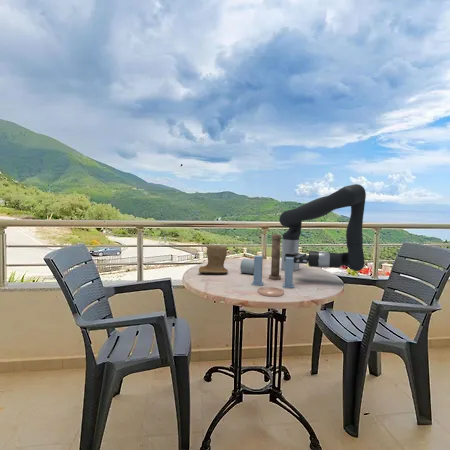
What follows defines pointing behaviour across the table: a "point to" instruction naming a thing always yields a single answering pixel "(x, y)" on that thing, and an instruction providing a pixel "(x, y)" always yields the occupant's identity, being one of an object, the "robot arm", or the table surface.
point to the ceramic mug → (247, 266)
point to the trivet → (270, 291)
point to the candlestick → (275, 257)
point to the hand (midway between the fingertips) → (284, 257)
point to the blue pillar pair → (288, 271)
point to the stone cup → (215, 260)
